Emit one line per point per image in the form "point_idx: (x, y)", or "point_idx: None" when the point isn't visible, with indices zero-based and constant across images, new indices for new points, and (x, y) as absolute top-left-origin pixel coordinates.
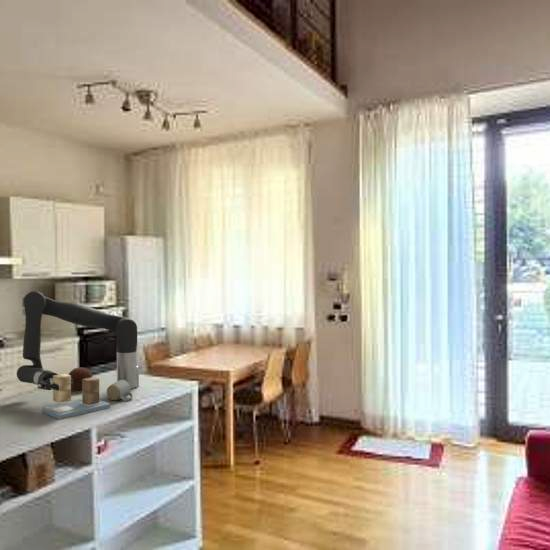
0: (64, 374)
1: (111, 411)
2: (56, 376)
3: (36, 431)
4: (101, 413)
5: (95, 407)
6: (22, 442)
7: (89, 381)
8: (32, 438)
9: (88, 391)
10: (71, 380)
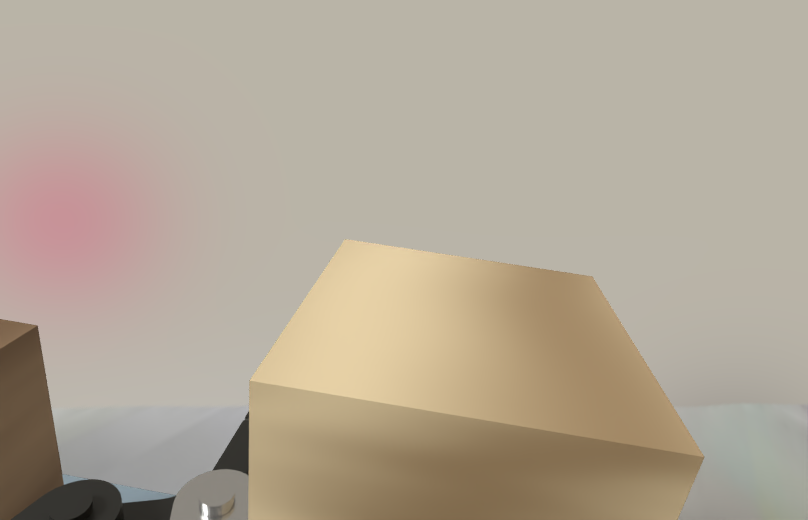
0: (349, 339)
1: (131, 414)
2: (615, 336)
3: (729, 483)
4: (206, 434)
5: (145, 491)
6: (793, 412)
7: (11, 332)
8: (744, 417)
9: (52, 466)
10: (116, 500)
